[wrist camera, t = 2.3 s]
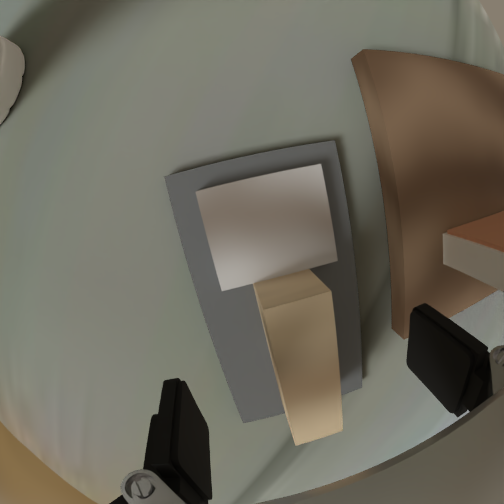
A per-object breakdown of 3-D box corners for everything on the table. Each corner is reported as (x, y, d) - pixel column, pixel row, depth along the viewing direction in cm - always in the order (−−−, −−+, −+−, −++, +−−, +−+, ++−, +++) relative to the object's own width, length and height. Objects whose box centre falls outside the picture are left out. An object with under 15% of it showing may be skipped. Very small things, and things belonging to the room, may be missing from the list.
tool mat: (358, 382, 17) (362, 387, 16) (242, 416, 17) (243, 422, 16) (330, 141, 13) (334, 140, 13) (166, 176, 13) (164, 176, 12)
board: (510, 268, 17) (522, 273, 16) (391, 328, 16) (403, 339, 15) (492, 77, 13) (504, 75, 12) (350, 58, 12) (363, 49, 11)
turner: (344, 383, 16) (367, 420, 13) (259, 408, 16) (268, 452, 12) (315, 164, 13) (348, 160, 9) (196, 190, 12) (188, 194, 9)
